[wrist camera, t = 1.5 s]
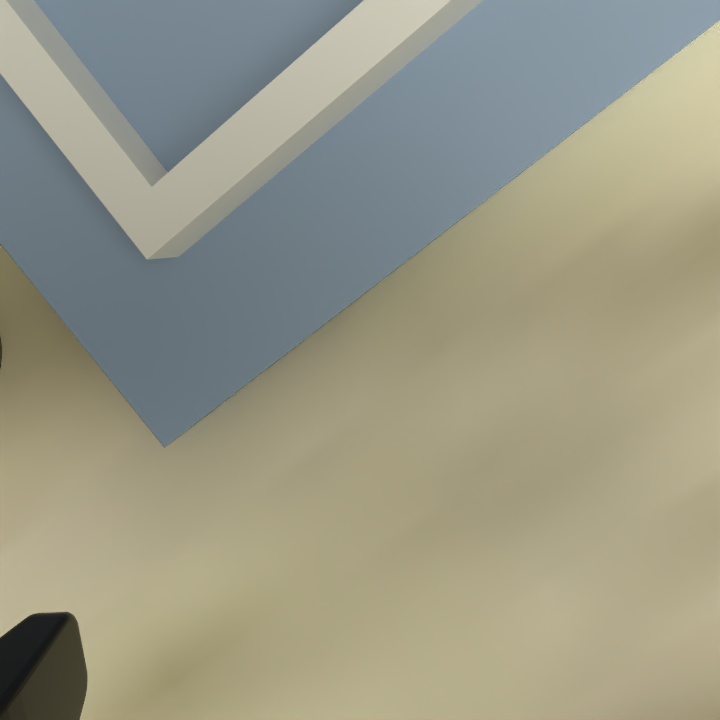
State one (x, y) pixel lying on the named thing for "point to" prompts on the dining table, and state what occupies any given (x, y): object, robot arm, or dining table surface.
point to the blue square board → (276, 158)
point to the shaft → (0, 352)
